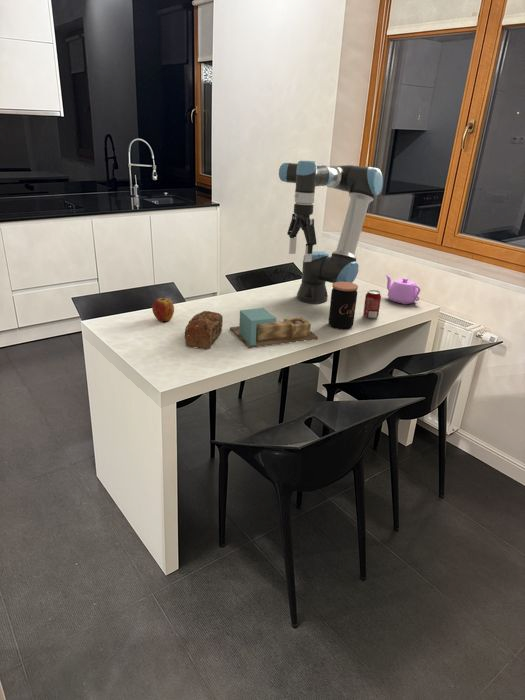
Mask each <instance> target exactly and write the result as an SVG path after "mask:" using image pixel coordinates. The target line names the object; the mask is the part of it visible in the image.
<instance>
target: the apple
mask: <svg viewBox="0 0 525 700" xmlns="http://www.w3.org/2000/svg"><path fill="white" fill-rule="evenodd" d="M174 305H175V304H174V303H173V302H172V301H171V299H170V298H165V297H159V298H156V299H155V300H154V301H153V303H152V306H151V309H152V313H153V315H154V317H155V318H156V320H158V321H159V322H160V321H167V322H169V321H171V319H172V318H173V315H174V313H175V307H174Z"/></svg>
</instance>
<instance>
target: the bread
mask: <svg viewBox="0 0 525 700" xmlns="http://www.w3.org/2000/svg"><path fill="white" fill-rule="evenodd" d="M223 317H224V316H223V315H222V314H221V313H219V312H216V311H215V312H214V311H210V310H209V311H208V310H203V311H202V312H199V313H197V314H195V315H194V316H192V318H191V319H190V320H189V321H188V324H187V325H186V326H185V329H184V339H185V346H186V347H189V348H193V347H197V348H196V349H200V348H204V349H203V350H208V349H211V348H212V346H213V345H214V344H215V342H216V341H217V340H218V338H219V337H220V335H221V333H222V331H223Z"/></svg>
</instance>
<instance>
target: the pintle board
mask: <svg viewBox="0 0 525 700" xmlns="http://www.w3.org/2000/svg"><path fill="white" fill-rule="evenodd" d="M278 322H280V320H279V321H278ZM270 323H272V322H270ZM301 323H302V322H300V321H296V322H295V324H301ZM262 324H263V323H262ZM229 331H231V332H232V333H233V334H234V336H235V337H236V338H237V339H238V340H239V341H240V342H241V341H242V342H243V343H244V344H245V345H246V346H247V347H248V348H247V347H246V346H245V345H244V344H243V343H242V342H241V343H242V344H243V345H244V346H245V347H246V348H247V349H253V348H252V346H251V345H250V344H249V343H248V342H247V341H246V340H245V339H244V338H243V337H242V336H241V335H240V334H239V325H238V326H230V327H229ZM312 339H314V340H318V336H317V334H315V333H314V332H312V331H311V330H310V336H302V337H295V338H292V337H290V336H286V337H279V338H271V339H263V340H257V339H256V348H259V347H258V346H263V347H266V346H265V345H270V346H273V345H272V344H277V345H282V344H281V343H285V344H290V343H289V342H292V343H297V342H296V341H299V342H304V340H306V341H313V340H312ZM254 347H255V345H254Z"/></svg>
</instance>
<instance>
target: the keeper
mask: <svg viewBox="0 0 525 700" xmlns="http://www.w3.org/2000/svg"><path fill="white" fill-rule="evenodd" d="M270 322H277V317H276V316H274V315H273V314H272V313H270V312H269V311H268V310H267V309H265V308H264V307H260V308H257V307H256V308H250V309H241V310H240V309H239V323H238V324H239V325H238V326H239V334H240V335H241V336H242V337H243V338H244V339H245V340H246V341H247V342H248V343H249V344H250V345H251V346H252V347H254V345H255V347H256V327H257V324H262V323H270ZM256 348H257V347H256Z"/></svg>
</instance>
